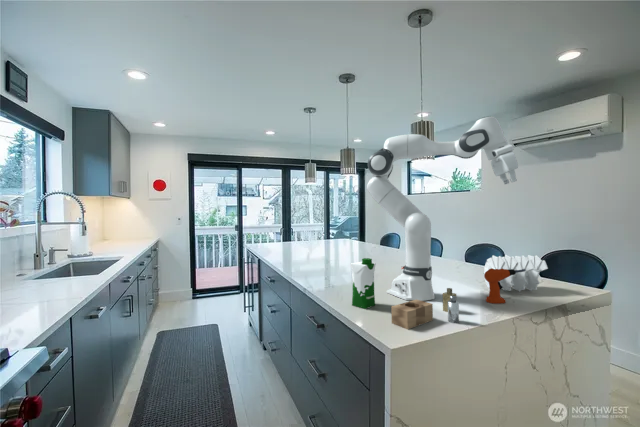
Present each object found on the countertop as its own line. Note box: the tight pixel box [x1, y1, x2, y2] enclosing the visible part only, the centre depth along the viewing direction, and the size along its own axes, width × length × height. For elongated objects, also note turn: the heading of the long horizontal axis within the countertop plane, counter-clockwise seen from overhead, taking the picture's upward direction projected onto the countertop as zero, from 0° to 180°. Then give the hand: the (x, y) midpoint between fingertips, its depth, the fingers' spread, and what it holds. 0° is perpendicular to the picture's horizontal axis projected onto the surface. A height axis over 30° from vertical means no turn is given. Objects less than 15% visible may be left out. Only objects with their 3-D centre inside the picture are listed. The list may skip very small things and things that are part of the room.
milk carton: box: [350, 257, 376, 310], centre depth 127 cm, size 9×9×20 cm
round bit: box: [447, 295, 460, 324], centre depth 107 cm, size 4×4×9 cm
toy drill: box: [483, 268, 526, 304], centre depth 129 cm, size 5×19×15 cm, turn 93°
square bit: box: [442, 287, 457, 313], centre depth 118 cm, size 4×4×9 cm
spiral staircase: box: [483, 254, 549, 293], centre depth 146 cm, size 18×18×25 cm
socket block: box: [390, 299, 434, 330], centre depth 107 cm, size 7×14×6 cm, turn 125°
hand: (510, 182), depth 126 cm, fingers open, 8 cm apart
